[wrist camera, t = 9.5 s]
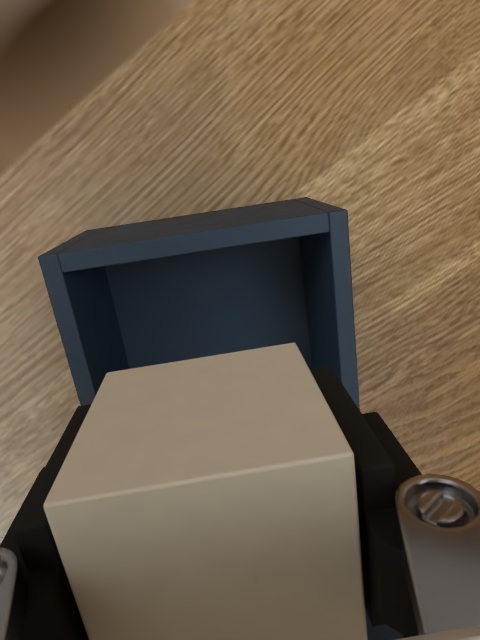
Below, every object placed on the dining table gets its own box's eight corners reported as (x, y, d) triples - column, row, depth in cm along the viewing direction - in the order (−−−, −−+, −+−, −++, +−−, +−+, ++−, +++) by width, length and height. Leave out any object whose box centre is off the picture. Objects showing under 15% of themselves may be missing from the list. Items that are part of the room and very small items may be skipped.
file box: (85, 230, 26) (37, 256, 18) (306, 197, 26) (347, 209, 19) (143, 463, 31) (123, 557, 23) (328, 432, 31) (366, 515, 24)
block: (145, 524, 12) (113, 718, 8) (105, 372, 10) (41, 505, 6) (313, 496, 12) (370, 670, 8) (295, 341, 11) (354, 453, 6)
